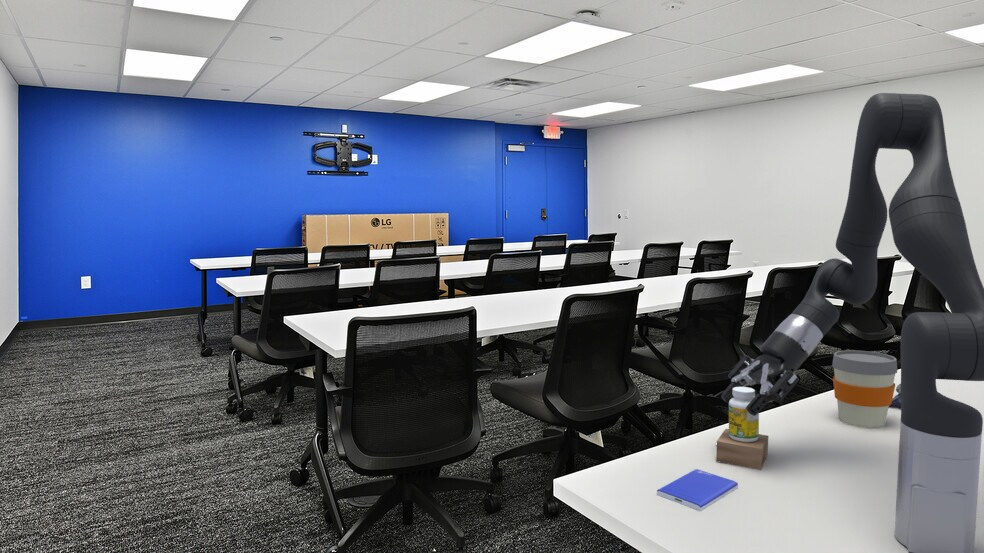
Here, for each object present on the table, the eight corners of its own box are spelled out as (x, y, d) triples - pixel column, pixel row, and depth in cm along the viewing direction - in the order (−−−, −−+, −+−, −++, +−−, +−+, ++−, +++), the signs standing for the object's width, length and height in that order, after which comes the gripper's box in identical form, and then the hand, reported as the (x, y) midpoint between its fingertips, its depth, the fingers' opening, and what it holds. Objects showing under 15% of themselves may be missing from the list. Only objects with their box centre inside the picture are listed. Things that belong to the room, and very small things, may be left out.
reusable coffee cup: (908, 426, 136) (911, 359, 134) (867, 434, 131) (871, 365, 130) (855, 409, 147) (858, 348, 146) (817, 416, 143) (819, 353, 141)
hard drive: (695, 468, 113) (656, 488, 104) (738, 481, 106) (701, 504, 98) (694, 476, 113) (656, 497, 104) (737, 490, 107) (700, 514, 98)
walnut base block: (761, 470, 114) (761, 449, 113) (716, 461, 118) (716, 441, 117) (767, 455, 120) (768, 435, 120) (725, 447, 125) (725, 428, 124)
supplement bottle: (764, 440, 117) (765, 391, 116) (741, 444, 116) (741, 394, 115) (745, 431, 122) (745, 384, 121) (722, 435, 121) (722, 387, 120)
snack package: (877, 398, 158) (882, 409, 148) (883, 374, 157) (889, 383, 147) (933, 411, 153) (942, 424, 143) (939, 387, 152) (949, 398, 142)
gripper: (756, 324, 125) (703, 384, 124) (806, 337, 111) (748, 405, 110) (778, 348, 127) (726, 407, 126) (830, 364, 113) (773, 431, 112)
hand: (736, 406), depth 118 cm, fingers open, 7 cm apart
